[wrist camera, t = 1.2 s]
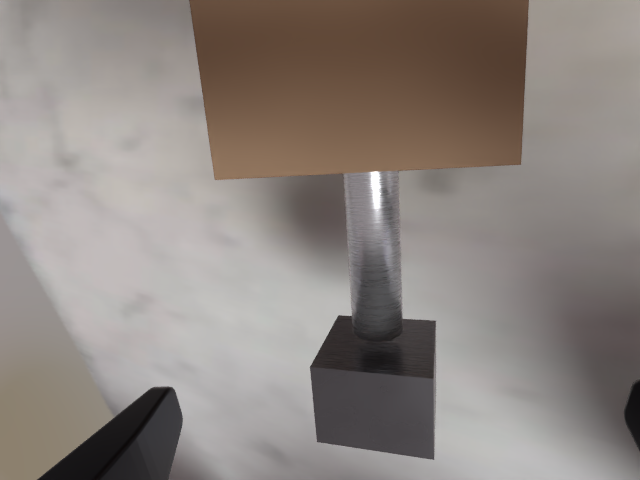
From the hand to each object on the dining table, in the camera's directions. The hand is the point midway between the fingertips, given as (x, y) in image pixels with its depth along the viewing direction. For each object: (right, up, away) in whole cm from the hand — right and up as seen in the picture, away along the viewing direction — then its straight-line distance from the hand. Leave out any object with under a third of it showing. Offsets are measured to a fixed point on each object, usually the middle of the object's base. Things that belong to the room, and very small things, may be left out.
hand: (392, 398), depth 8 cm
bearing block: (+2, +10, +11) cm, 15 cm away
